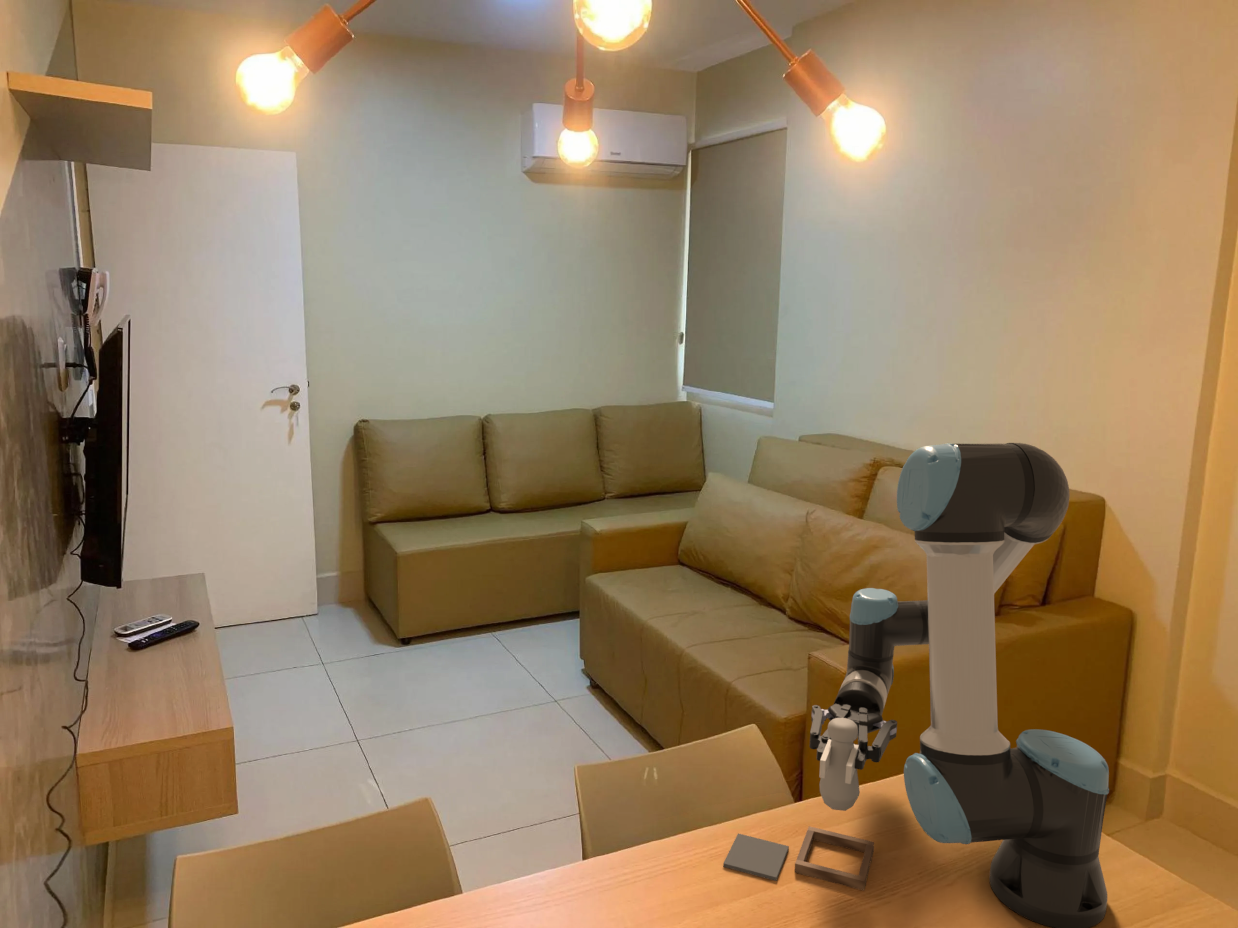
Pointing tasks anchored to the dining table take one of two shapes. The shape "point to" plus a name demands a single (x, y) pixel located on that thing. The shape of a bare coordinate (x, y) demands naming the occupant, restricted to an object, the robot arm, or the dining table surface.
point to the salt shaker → (840, 766)
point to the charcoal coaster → (756, 857)
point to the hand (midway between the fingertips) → (835, 771)
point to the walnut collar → (830, 873)
